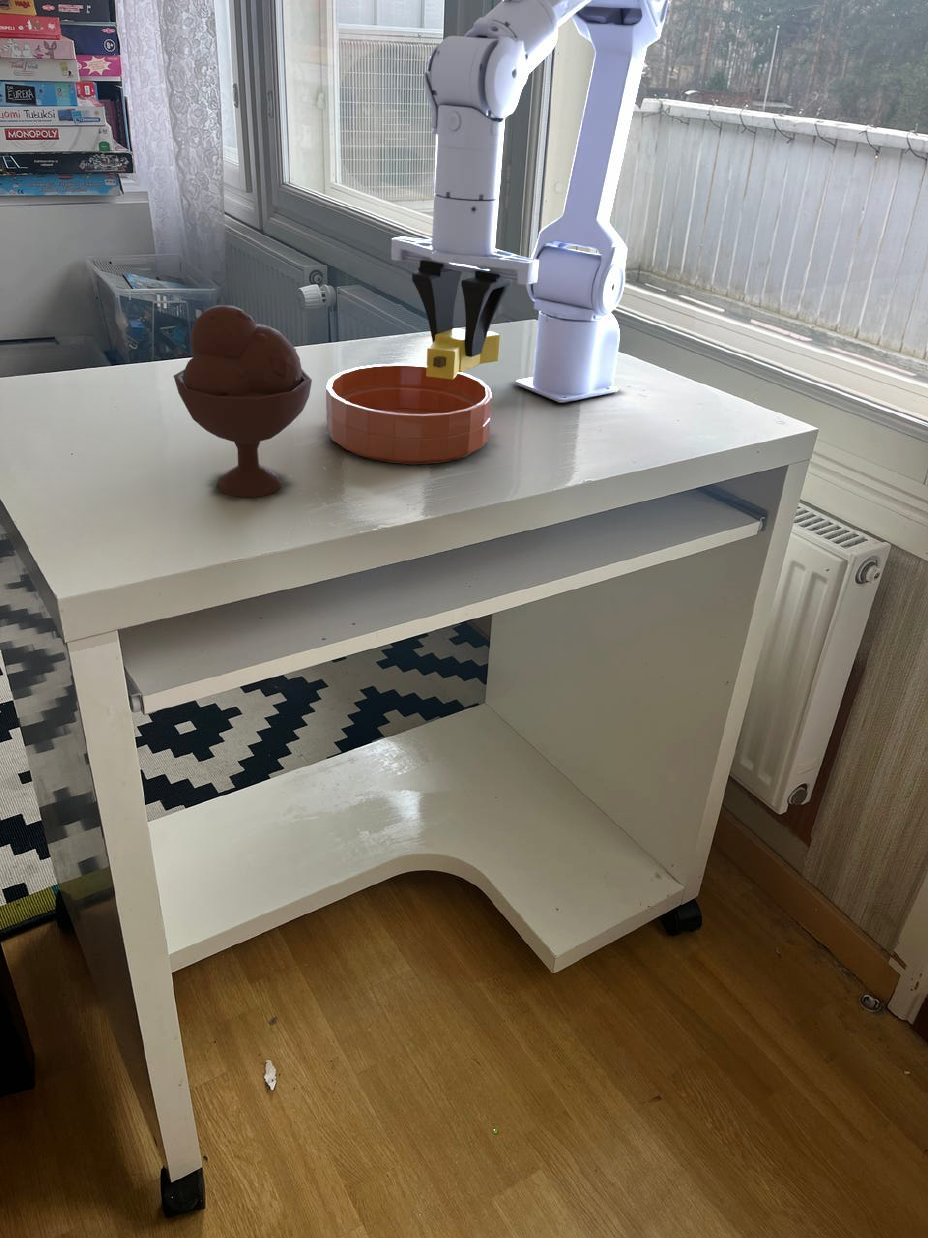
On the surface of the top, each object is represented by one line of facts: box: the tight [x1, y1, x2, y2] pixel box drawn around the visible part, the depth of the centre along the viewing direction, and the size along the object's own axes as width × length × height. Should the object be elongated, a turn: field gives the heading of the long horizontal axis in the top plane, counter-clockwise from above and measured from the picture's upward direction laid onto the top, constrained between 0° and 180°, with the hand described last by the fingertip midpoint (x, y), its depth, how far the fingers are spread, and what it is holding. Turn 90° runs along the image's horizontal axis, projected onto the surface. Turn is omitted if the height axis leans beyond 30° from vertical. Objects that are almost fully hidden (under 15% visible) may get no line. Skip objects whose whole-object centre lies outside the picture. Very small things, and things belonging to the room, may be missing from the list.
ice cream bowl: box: [173, 304, 313, 498], centre depth 79 cm, size 11×11×15 cm
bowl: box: [325, 363, 493, 465], centre depth 94 cm, size 16×16×5 cm
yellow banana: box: [426, 327, 501, 380], centre depth 90 cm, size 10×4×3 cm, turn 149°
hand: (457, 350), depth 90 cm, fingers closed on yellow banana, 3 cm apart
